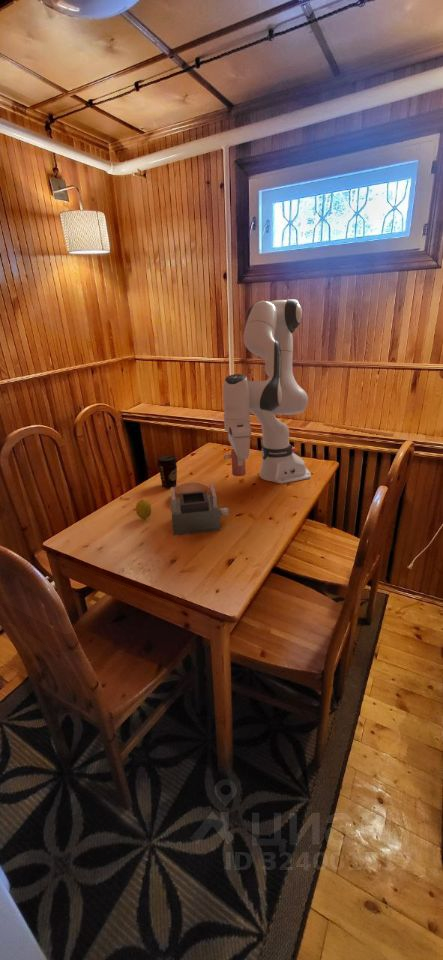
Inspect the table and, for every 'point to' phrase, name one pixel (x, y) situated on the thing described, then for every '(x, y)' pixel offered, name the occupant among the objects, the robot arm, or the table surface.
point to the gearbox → (195, 512)
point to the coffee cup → (168, 470)
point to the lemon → (143, 509)
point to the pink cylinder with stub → (236, 465)
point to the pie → (190, 488)
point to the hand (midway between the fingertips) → (238, 461)
